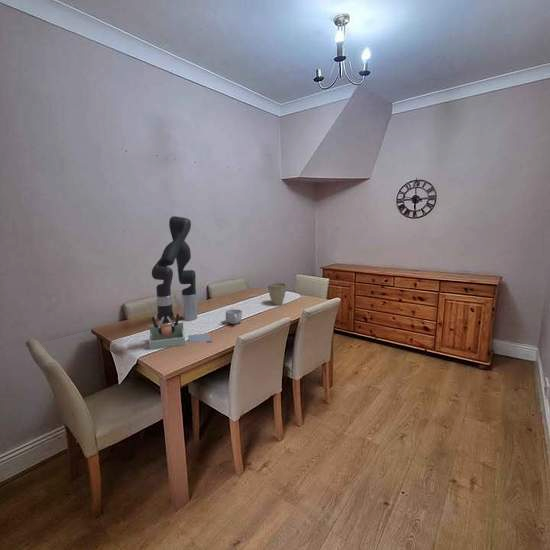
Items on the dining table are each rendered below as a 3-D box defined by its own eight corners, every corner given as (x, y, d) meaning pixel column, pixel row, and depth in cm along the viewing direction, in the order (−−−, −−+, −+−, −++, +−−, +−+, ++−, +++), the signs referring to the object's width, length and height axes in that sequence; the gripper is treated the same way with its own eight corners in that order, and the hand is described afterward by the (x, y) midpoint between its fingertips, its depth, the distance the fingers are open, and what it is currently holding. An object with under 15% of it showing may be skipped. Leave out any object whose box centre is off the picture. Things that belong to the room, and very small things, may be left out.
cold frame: (150, 341, 170) (149, 325, 168) (183, 337, 176) (182, 322, 174) (149, 351, 157) (148, 334, 156) (185, 346, 163) (184, 330, 161)
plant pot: (287, 301, 249) (287, 282, 246) (285, 306, 235) (285, 286, 232) (269, 300, 251) (269, 282, 248) (266, 306, 237) (266, 286, 234)
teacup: (226, 320, 205) (226, 308, 203) (242, 319, 206) (242, 308, 204) (224, 327, 191) (224, 315, 190) (241, 326, 192) (241, 314, 191)
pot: (160, 333, 168) (159, 320, 166) (173, 331, 170) (172, 319, 168) (160, 337, 162) (159, 324, 160) (173, 335, 164) (172, 323, 162)
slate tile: (187, 337, 176) (187, 335, 175) (208, 334, 180) (208, 332, 179) (189, 345, 164) (189, 343, 164) (211, 342, 168) (211, 340, 168)
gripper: (178, 300, 168) (180, 329, 171) (150, 302, 163) (152, 332, 167) (179, 304, 161) (180, 334, 164) (149, 306, 156) (152, 337, 160)
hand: (166, 333), depth 166 cm, fingers closed on pot, 5 cm apart
